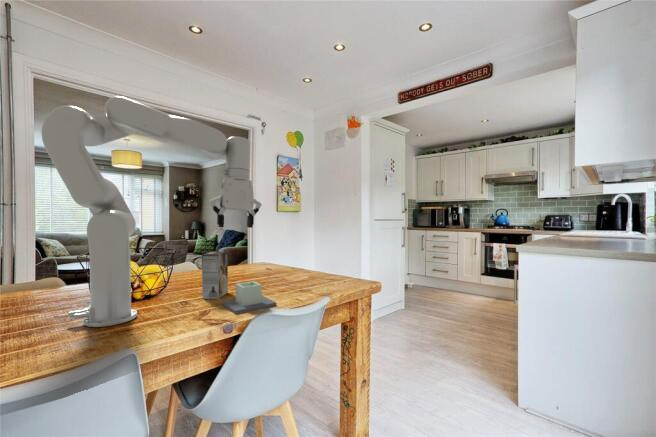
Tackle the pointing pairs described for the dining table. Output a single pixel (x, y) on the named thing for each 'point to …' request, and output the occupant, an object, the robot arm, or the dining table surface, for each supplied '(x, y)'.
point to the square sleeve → (248, 293)
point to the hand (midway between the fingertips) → (235, 227)
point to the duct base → (238, 308)
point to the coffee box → (214, 274)
